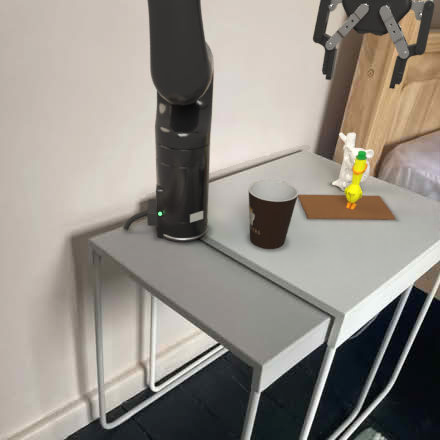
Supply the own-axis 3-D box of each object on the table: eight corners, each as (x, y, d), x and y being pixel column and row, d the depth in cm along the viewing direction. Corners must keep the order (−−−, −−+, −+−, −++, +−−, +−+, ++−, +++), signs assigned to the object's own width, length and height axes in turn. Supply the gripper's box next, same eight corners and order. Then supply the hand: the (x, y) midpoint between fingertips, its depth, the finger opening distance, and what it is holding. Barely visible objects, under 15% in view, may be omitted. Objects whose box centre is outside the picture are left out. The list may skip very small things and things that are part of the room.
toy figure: (347, 198, 107) (359, 143, 99) (363, 202, 105) (377, 147, 98) (338, 210, 102) (350, 154, 95) (355, 215, 100) (368, 158, 93)
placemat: (307, 218, 99) (308, 216, 99) (298, 196, 107) (298, 194, 107) (394, 219, 101) (395, 217, 100) (378, 197, 109) (379, 195, 108)
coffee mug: (288, 255, 88) (296, 204, 82) (240, 248, 89) (244, 197, 83) (293, 224, 97) (301, 176, 91) (250, 218, 98) (254, 171, 92)
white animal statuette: (322, 185, 113) (332, 132, 106) (340, 177, 116) (350, 126, 109) (354, 198, 108) (366, 144, 101) (371, 190, 112) (384, 137, 105)
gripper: (324, -66, 57) (303, 82, 66) (455, -58, 54) (413, 97, 63) (334, -66, 63) (313, 70, 72) (452, -59, 59) (414, 83, 69)
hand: (360, 83), depth 68 cm, fingers open, 8 cm apart
